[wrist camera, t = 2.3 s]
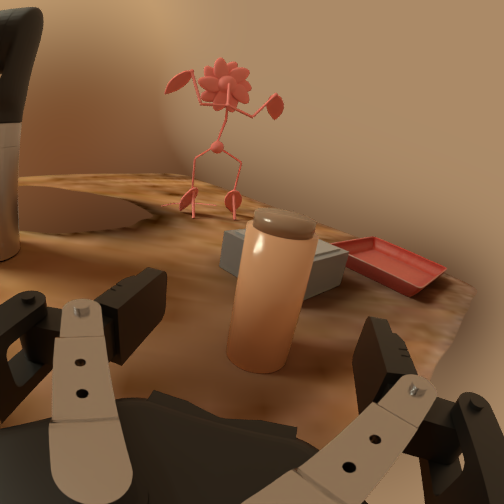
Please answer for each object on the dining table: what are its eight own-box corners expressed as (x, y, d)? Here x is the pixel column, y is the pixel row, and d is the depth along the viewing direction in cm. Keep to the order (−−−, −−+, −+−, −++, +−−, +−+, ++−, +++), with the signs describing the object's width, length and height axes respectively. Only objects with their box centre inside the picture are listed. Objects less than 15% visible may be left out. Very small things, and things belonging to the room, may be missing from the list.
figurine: (271, 222, 70) (297, 69, 59) (154, 218, 59) (179, 40, 48) (244, 207, 83) (264, 77, 72) (145, 202, 72) (165, 58, 61)
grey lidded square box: (219, 266, 43) (224, 229, 41) (277, 254, 51) (283, 223, 49) (287, 306, 35) (297, 263, 33) (339, 284, 43) (349, 250, 42)
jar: (213, 347, 26) (233, 207, 22) (256, 330, 30) (281, 205, 26) (256, 382, 23) (291, 230, 19) (298, 358, 26) (335, 225, 22)
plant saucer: (414, 307, 41) (422, 286, 40) (321, 261, 53) (325, 242, 52) (442, 283, 53) (448, 268, 52) (369, 250, 65) (373, 235, 64)
